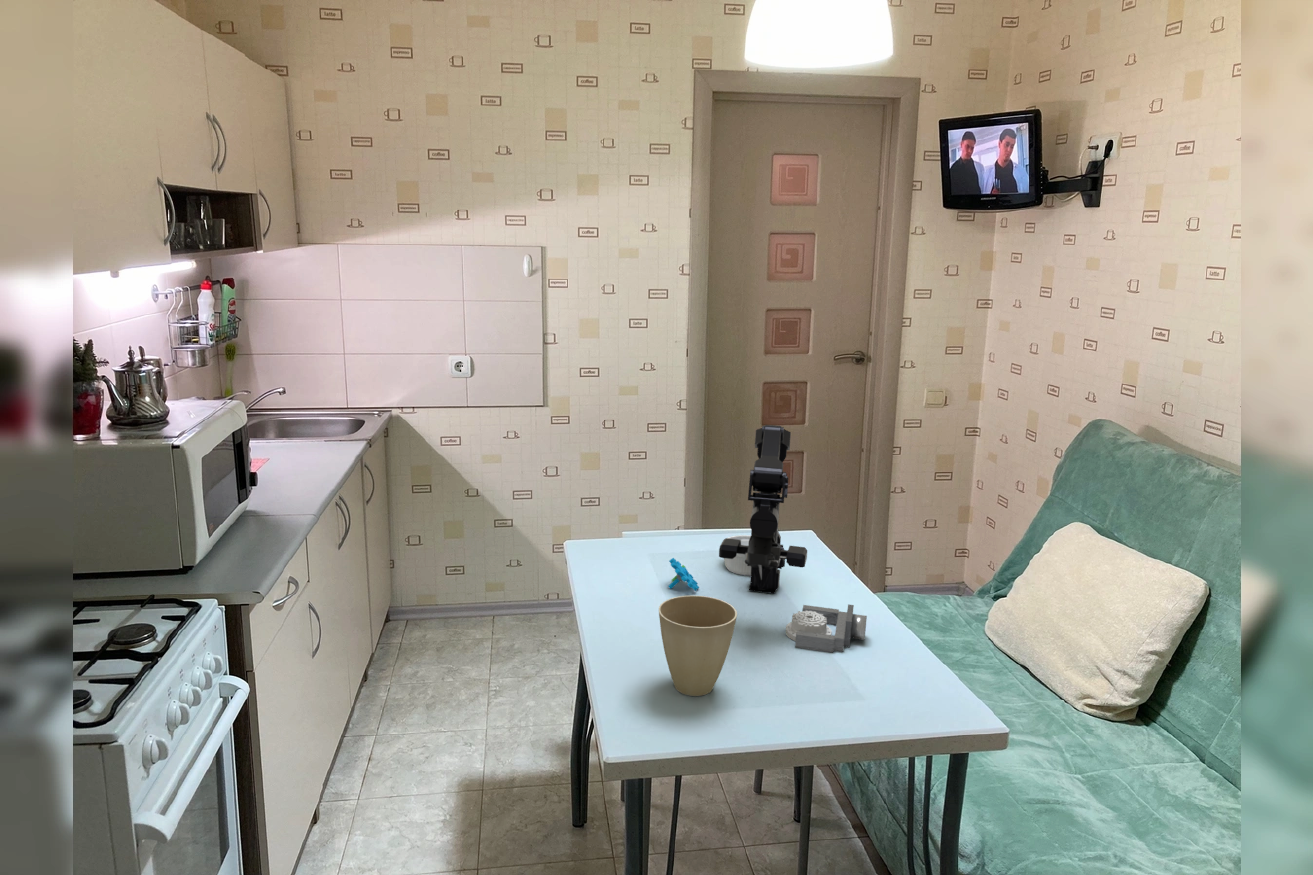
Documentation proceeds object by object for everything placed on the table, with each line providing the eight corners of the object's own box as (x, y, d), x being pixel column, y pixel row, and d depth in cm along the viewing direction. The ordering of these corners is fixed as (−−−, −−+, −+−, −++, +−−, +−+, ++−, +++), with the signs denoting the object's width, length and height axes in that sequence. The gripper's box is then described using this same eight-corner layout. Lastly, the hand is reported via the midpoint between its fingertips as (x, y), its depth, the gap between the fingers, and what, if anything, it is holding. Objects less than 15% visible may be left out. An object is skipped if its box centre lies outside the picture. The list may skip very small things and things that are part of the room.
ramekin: (712, 562, 242) (713, 537, 240) (755, 556, 247) (757, 532, 246) (737, 581, 230) (738, 554, 229) (782, 574, 236) (783, 548, 234)
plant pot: (729, 710, 169) (733, 631, 165) (649, 701, 172) (652, 622, 168) (736, 672, 183) (740, 598, 180) (662, 664, 186) (665, 591, 182)
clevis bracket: (795, 647, 195) (797, 621, 194) (802, 616, 210) (804, 592, 209) (863, 656, 192) (865, 630, 190) (865, 625, 207) (868, 600, 206)
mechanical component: (783, 642, 198) (829, 648, 196) (784, 623, 197) (831, 629, 195) (787, 623, 208) (832, 628, 205) (789, 604, 206) (833, 610, 204)
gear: (701, 591, 218) (672, 561, 218) (683, 608, 219) (654, 577, 219) (701, 580, 229) (674, 551, 229) (683, 595, 230) (656, 566, 230)
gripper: (715, 528, 193) (712, 597, 197) (804, 538, 189) (799, 608, 193) (725, 513, 204) (721, 578, 208) (809, 522, 200) (804, 589, 203)
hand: (760, 588), depth 202 cm, fingers closed
